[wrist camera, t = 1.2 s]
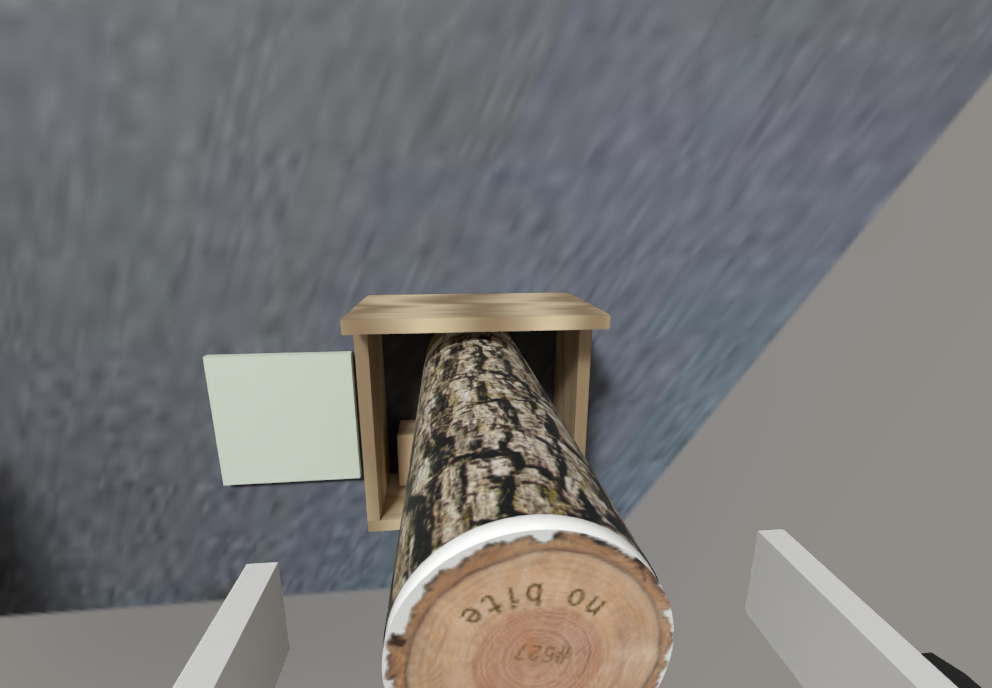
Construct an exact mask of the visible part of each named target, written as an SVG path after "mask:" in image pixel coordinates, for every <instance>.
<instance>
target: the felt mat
mask: <svg viewBox="0 0 992 688" xmlns="http://www.w3.org/2000/svg"><path fill="white" fill-rule="evenodd" d="M203 362H204V368H205V374H206V380H207V386H208V393H209V399H210V405H211V411H212V417H213V423H214V429H215V436H216V442H217V448H218V454H219V460H220V466H221V472H222V479H223V485H241V484H259V483H278V482H296V481H315V480H333V479H352V478H361V475H362V471H361V458H360V446H359V433H358V420H357V407H356V394H355V382H354V369H353V356H352V351H341V352H302V353H262V354H223V355H206V356H204V357H203Z"/></svg>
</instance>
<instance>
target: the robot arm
mask: <svg viewBox="0 0 992 688" xmlns="http://www.w3.org/2000/svg"><path fill="white" fill-rule="evenodd" d="M745 612H746V613H747V614H748V615H749V617H750V618H751V619H752V621H753V622H754V623H755V625H756V626H757V627H758V629H759V630H760V631H761V632H762V634H763V635H764V636H765V638H766V639H767V640H768V642H769V643H770V644H771V645H772V647H773V648H774V649H775V651H776V652H777V653H778V654H779V656H780V657H781V658H782V660H783V661H784V662H785V664H786V665H787V666H788V668H789V669H790V670H791V671H792V673H793V674H794V675H795V677H796V678H797V679H798V680H799V682H800V683H801V684H802V686H803V687H804V688H981V687H980V686H979V685H978V684H976V683H975V682H974V681H973V680H972V679H970V678H969V677H968V676H967V675H966V674H965V673H963V672H961V671H960V670H958V669H957V668H955V667H954V666H952V665H950V664H949V663H947V662H945V661H944V660H942V659H941V658H939V657H938V656H936V655H934V654H933V653H922V654H921V653H919V652H918V651H917V650H916V649H915V648H914V647H913V646H911V645H910V644H909V643H908V642H907V641H906V640H905V639H904V638H903V637H902V636H901V635H899V634H898V633H897V632H896V631H895V630H894V629H893V628H892V627H890V625H888V624H887V623H886V622H885V621H884V620H883V619H882V618H881V617H880V616H879V615H877V614H876V613H875V612H874V611H873V610H872V609H871V608H869V606H867V605H866V604H865V603H864V602H863V601H862V600H861V599H860V598H859V597H858V596H856V595H855V594H854V593H853V592H852V591H851V590H850V589H849V588H848V587H846V586H845V585H844V584H843V583H842V582H841V581H840V580H839V579H838V578H836V577H835V576H834V575H833V574H832V573H831V572H830V571H829V570H828V569H827V568H825V567H824V566H823V565H822V564H821V563H820V562H819V561H818V560H817V559H816V558H814V557H813V556H812V555H811V554H810V553H809V552H808V551H807V550H806V549H804V548H803V547H802V546H801V545H800V544H799V543H798V542H797V541H796V540H795V539H793V538H792V537H791V536H790V535H789V534H788V533H787V532H786V531H785V530H783V529H782V530H766V531H758V535H757V541H756V547H755V553H754V559H753V565H752V571H751V577H750V583H749V589H748V596H747V601H746V607H745ZM289 649H290V647H289V640H288V632H287V625H286V618H285V611H284V603H283V596H282V588H281V581H280V574H279V566H278V562H273V563H258V564H247V565H246V566H245V568H244V570H243V571H242V573H241V575H240V576H239V578H238V580H237V581H236V583H235V585H234V586H233V588H232V590H231V591H230V593H229V595H228V596H227V598H226V600H225V601H224V603H223V604H222V606H221V608H220V609H219V611H218V613H217V614H216V616H215V618H214V619H213V621H212V623H211V624H210V626H209V628H208V629H207V631H206V633H205V635H204V636H203V638H202V639H201V641H200V643H199V644H198V646H197V648H196V649H195V651H194V653H193V655H192V656H191V658H190V659H189V661H188V663H187V664H186V666H185V668H184V670H183V671H182V673H181V674H180V676H179V678H178V680H177V681H176V683H175V684H174V686H173V688H275V686H276V683H277V680H278V678H279V675H280V672H281V670H282V667H283V665H284V662H285V659H286V657H287V654H288V651H289Z"/></svg>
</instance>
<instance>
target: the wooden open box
mask: <svg viewBox="0 0 992 688" xmlns="http://www.w3.org/2000/svg"><path fill="white" fill-rule="evenodd" d="M340 324H341V335H353V337H354V350H355V363H356V376H357V389H358V402H359V415H360V428H361V441H362V454H363V467H364V480H365V493H366V506H367V519H368V532H373V531H388V530H400V524H401V517H402V510H403V504H404V497H405V490H406V485H401V486H400V483H399V473H392V474H390V460H389V444H388V428H387V411H386V395H385V378H384V362H383V345H382V334H406V333H453V332H499V331H545V330H556V354H555V381H554V408H555V409H556V411H557V413H558V414H559V416H560V418H561V419H562V421H563V422H564V424H565V426H566V427H567V429H568V431H569V432H570V434H571V436H572V437H573V439H574V441H575V442H576V444H577V445H578V447H579V449H580V450H581V452H582V454H583V455H584V457H585V448H586V430H587V413H588V395H589V377H590V359H591V342H592V329H610V315H609V314H607V313H606V312H604V311H602V310H600V309H598V308H596V307H594V306H592V305H591V304H589V303H587V302H585V301H583V300H581V299H579V298H577V297H575V296H574V295H572V294H570V293H502V294H423V295H368V296H367V297H365V298H364V299H363V300H362V301H361V302H360V303H359V304H358V305H356V306H355V307H354V308H353V309H352V310H351V311H350V312H349V313H347V314H346V315H345V316H344V317H343V318H342V319H341V320H340Z"/></svg>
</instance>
